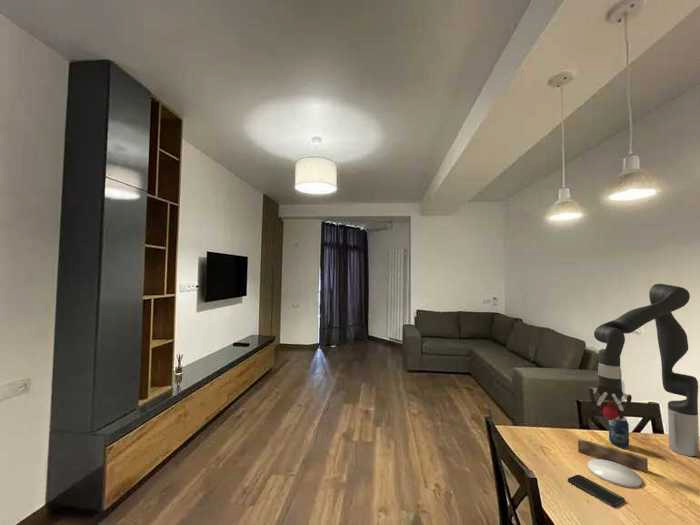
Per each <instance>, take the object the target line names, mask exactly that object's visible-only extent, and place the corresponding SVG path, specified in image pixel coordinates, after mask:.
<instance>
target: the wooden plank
mask: <svg viewBox="0 0 700 525" xmlns="http://www.w3.org/2000/svg"><path fill="white" fill-rule="evenodd" d="M577 445H578V446H577V449H578V450H577V451H578V453H579V452H580V454H583V453H584V455H586V454H588V455H587V456H590V455H592V456H591V457H593V456H594V458H596V457H597V458H596V459H602V460H608V461H612V462H615V463H618V464H621V465H623V466H626V467H628V468H630V469H632V470H633V469H634V470H637V471H641V472H643V473H649V468H648V467H649V465H648V462H649V461H648V457H647V456H643V455H639V454H636V453H633V452H629V451H626V450H622V449H617V448H614V447H612V446H611V447H610V446H607V445H603V444H600V443H596V442H592V441H588V440H585V439H582V438H578V439H577Z"/></svg>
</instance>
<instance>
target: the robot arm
mask: <svg viewBox="0 0 700 525" xmlns="http://www.w3.org/2000/svg"><path fill="white" fill-rule="evenodd" d="M648 294H649V295H648V297H649V302H650V304H648V305H645V306H640V307H637V308H633V309H630V310H629V311H627V312H625V313H623V314H622V315H621V316H619V317H617V318H616V319H614V320H611V321H608V322H605V323H602V324H600V325H599V326H597V327H596V328H595V330H594V333H593V335H594V336H593V337H594V338H595V339H596V341H598V342H600V343H603V344H606V345H605V346H606V347H605V348H602V349H600V350H598V366H597V380H598V382H597V384H598V385H597V387H592V386H590V387H589V388H588V391H589V396H590V402H591V404H592V403H593V404H595V405H596V413H597V414H598V415H599V416H602V411H601V407H602V404H603V403H604V401H609V400H610V401H611V402H614V403H616V405H617V408H618V410H619V419H620V420H621V418H622V419H623V418H625V416H624V414H625V411H630V408H631V404H632V403H631V402H632V398H633V397H632V396H633V395H632V394H627V393H624V392H623V389H622V388H623V387H622V376H623V375H622V369H621V355H622V352H623V349H624V346H625V343H626V342H625V341H626V337H625V334H626V335H627V334H632V333H634V332H635V331H636V330H638V329H640V328H641V327H642V326H644V325H646V324H647V323H650V322H651V321H653V320H654V322H655V326H656V327H655V328H656V335H657V336H656V337H657V342H658V348H659V355H660V363H661V381H662V387H663V389H664V391H665V392H667V393H670V394H673V395H678V396H682V397H686V398H685V399H683V400H682V399H681V400H669V401H668V402H667V412H668V413H667V415H668V416H667V417H668V418H667V419H668V420H667V422H668V423H667V424H668V425H667V426H668V448H669V449H671V450H672V451H674V452H676V453H679V454H681V455H683V456H689V457H693V456H697V457H699V456H700V435H699V434H700V431H699V408H698V407H699V401H698V400H699V398H698V397H699V381H698V379H697V378H696V377H695V376H693V375H689V374H684V373H677V372H674V371H673V369H674V366H675V365H676V364H677V363H678V362H679V361H680V360H681V359H682V358H683V357H684V356H685V355H686V354H687V352H689V343H688V342H689V341H688V335H687V333H686V331H685V329H684V327H683V326H682V325H681V324H680V322H679V321H678V320H677V319H676V318H675V316H674V315H673V312H675V311H677V310H679V309H681V308H683V307H685V306H686V305H687V304H688V303H689V301H690V298H691V296H690V292H689V291H688V289H686V288H685V287H683V286H682V287H681V286H677V285H672V284H671V285H670V284H665V283H656V284H655V283H654V284H653V285H652V286H651V287H650V289H649V293H648ZM596 392H597V393H598V394H599V395H600V397H599V398H598V399H596V398H595V394H596ZM622 397H623V398H624V400H626V402H625V405H623V404H622V402H621V400H620V399H621V398H622Z"/></svg>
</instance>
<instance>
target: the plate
mask: <svg viewBox="0 0 700 525" xmlns="http://www.w3.org/2000/svg"><path fill="white" fill-rule="evenodd" d="M588 468H589V469H588ZM587 469H588V470H589V471H590V472H591V473H592V474H593V475H594V476H596V477H597V476H598V477H597V478H599V479H601V480H602V481H606V482H607V481H608V483H609V484H612V483H613V485H615V486H619V487H624V488H625V487H626V488H637V487H638V488H639V487H641V486H642V484H643V480H642V477H641V476H640V475H639V474H638V473H637V472H636V471H634V470H633V469H632V468H630V467H627V466H623V465H621V464H618V463H615V462H612V461H608V460H603V459H600V458H594V459H590V460H589V461H588V462H587Z"/></svg>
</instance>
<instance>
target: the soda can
mask: <svg viewBox="0 0 700 525" xmlns="http://www.w3.org/2000/svg"><path fill="white" fill-rule="evenodd" d="M627 420H628V419H627V418H626V417H624V418H623V419H622V418H621V420H620V419H619V416H618V417H617V418H616V419H614V420H611V421H610V420H608V440H609V442H610V444H611V445H613V446H615V447H617V448H621V449H627V448H628V447H629V446H630V431H629V429H630V428H629V427H630V426H629V422H628V421H627Z"/></svg>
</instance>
